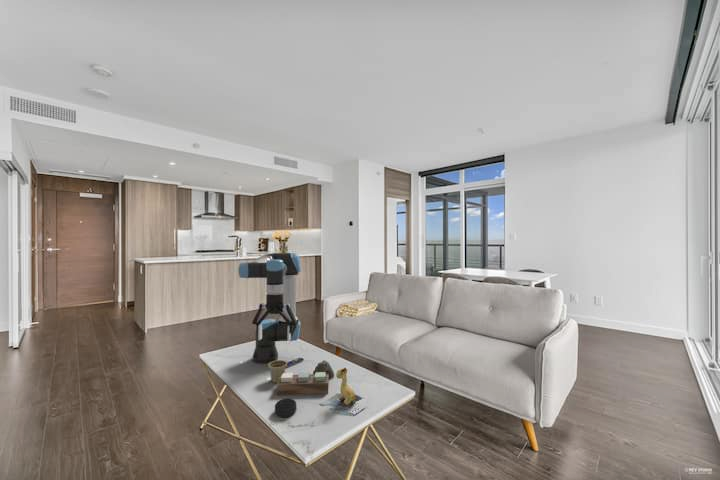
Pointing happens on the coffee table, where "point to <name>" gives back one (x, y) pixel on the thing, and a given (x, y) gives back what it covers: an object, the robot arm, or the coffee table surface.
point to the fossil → (324, 368)
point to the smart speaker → (285, 407)
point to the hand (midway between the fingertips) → (274, 339)
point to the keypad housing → (303, 386)
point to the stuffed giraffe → (343, 396)
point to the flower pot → (277, 369)
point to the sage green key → (320, 376)
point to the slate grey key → (303, 377)
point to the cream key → (287, 377)
